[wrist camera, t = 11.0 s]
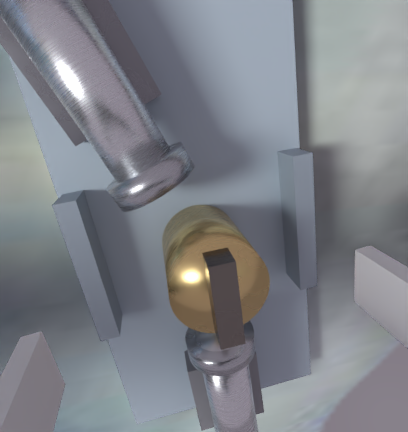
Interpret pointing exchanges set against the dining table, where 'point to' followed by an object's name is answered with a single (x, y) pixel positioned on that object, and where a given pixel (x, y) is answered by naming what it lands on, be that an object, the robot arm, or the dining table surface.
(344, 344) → the dining table surface
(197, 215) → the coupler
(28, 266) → the dining table surface
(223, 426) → the shaft
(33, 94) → the bench
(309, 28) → the dining table surface
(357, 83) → the dining table surface
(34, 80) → the shaft
